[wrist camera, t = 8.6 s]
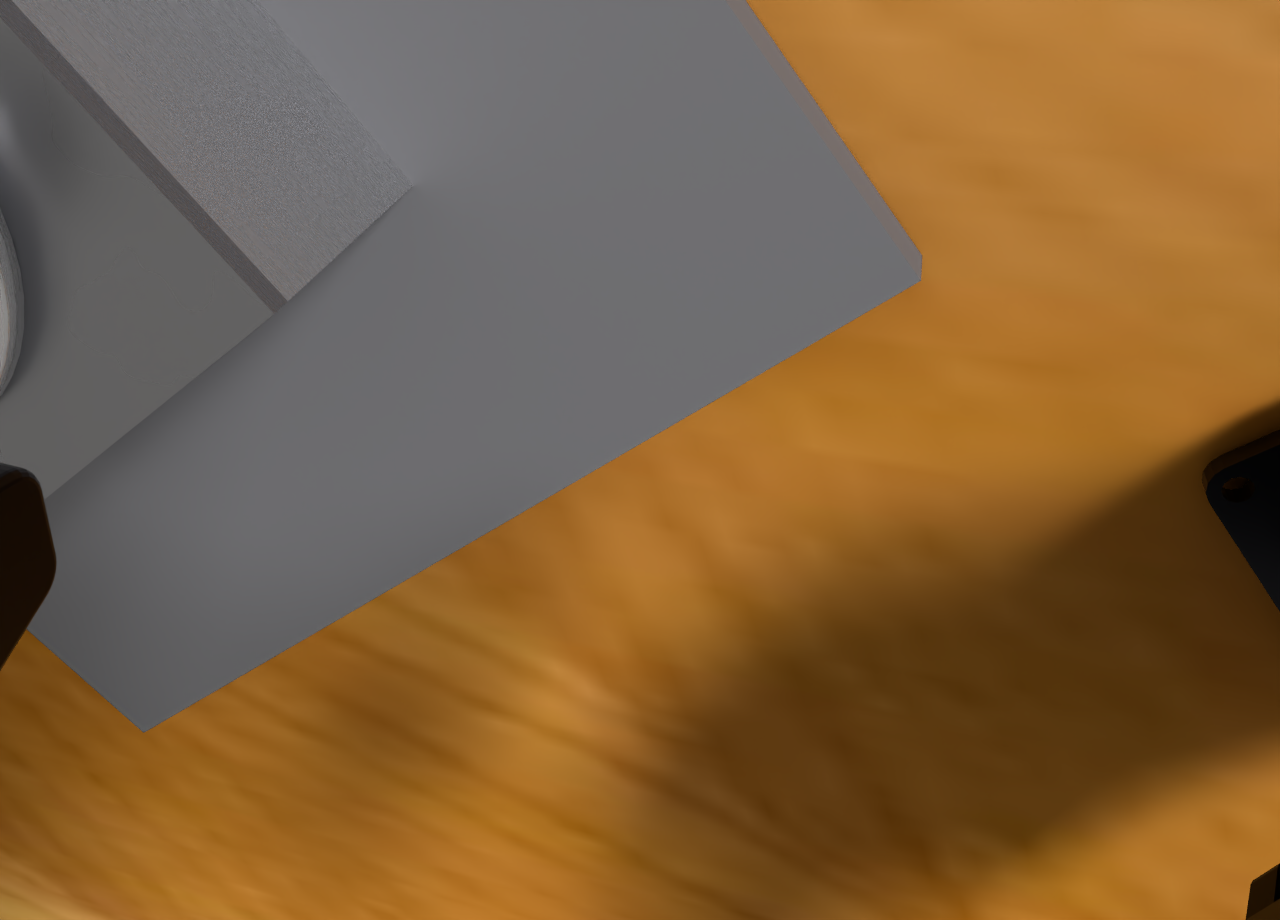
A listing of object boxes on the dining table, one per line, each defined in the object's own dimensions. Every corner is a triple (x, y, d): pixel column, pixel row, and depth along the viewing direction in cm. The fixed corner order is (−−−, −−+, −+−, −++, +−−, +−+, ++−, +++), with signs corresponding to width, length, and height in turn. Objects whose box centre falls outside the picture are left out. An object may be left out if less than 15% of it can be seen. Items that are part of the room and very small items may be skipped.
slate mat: (922, 255, 20) (921, 280, 19) (165, 704, 30) (143, 732, 29) (-175, -1329, 13) (-252, -1401, 12) (-657, -37, 23) (-715, -26, 23)
